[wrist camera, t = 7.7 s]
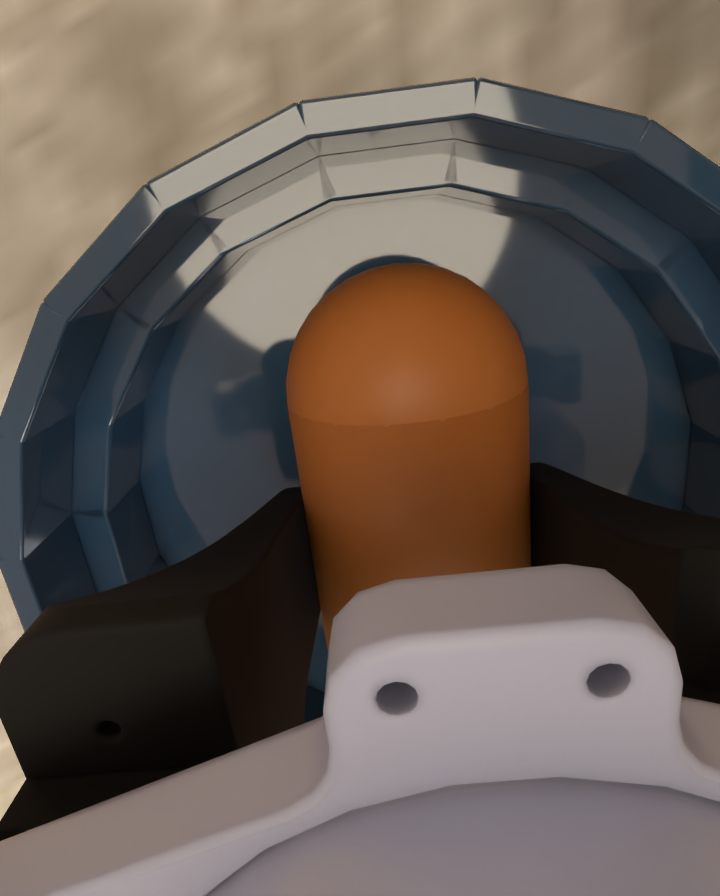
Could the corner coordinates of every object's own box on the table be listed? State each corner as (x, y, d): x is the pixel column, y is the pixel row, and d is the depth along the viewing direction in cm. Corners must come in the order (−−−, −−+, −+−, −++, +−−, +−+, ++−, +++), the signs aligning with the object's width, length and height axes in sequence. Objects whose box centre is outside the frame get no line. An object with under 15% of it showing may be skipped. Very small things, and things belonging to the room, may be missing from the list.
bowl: (765, 88, 12) (985, 7, 8) (697, 696, 17) (803, 843, 13) (16, 185, 13) (-158, 160, 8) (178, 738, 18) (122, 891, 14)
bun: (284, 270, 13) (243, 289, 8) (494, 245, 12) (564, 251, 8) (345, 671, 16) (339, 826, 12) (508, 657, 16) (559, 810, 12)
